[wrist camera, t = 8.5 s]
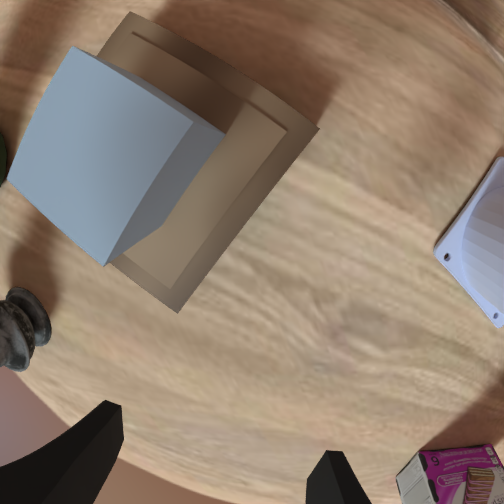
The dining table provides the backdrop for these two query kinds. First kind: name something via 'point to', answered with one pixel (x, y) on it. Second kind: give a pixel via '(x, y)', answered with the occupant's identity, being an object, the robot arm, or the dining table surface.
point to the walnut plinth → (217, 165)
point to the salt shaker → (21, 328)
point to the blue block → (108, 155)
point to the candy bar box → (453, 477)
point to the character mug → (2, 159)
